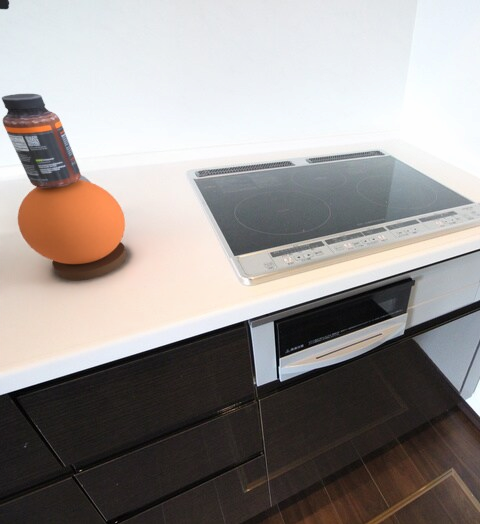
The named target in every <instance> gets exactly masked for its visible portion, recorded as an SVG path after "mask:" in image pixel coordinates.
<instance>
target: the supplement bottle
mask: <svg viewBox="0 0 480 524" xmlns="http://www.w3.org/2000/svg"><path fill="white" fill-rule="evenodd" d="M1 101H2V103H3V105H4V108H5V109H6V110H7V112H6V114H5V115H4V116H3V118H2V124H3V127H4V129H5V131H6V133H7V135H8V137H9V140H10V142H11V144H12V146H13V148H14V150H15V153H16V155H17V156H18V159H19V161H20V163H21V165H22V167H23V170H24V171H25V174H26V176H27V178H28V180H29V182H30V184H31V185H32V186H34V187H35V188H36V187H41V188H53V187H62V186H66V185H69V184H72V183H74V182H76V181H78V180H79V179H80V177H81V175H82V174H81V171H80V168H79V165H78V163H77V160H76V157H75V155H74V152H73V150H72V147H71V145H70V142H69V140H68V137H67V134H66V132H65V130H64V129H65V128H64V127H63V124H62V121H61V119H60V117H59V115H57V114H56V113H54V112H53V111H50V110H48V109H47V108H46V103H45V101H44V98H43V96H42V95H41V94H37V93H15V94H7V95H4V96H2V97H1Z"/></svg>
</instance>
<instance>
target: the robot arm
mask: <svg viewBox="0 0 480 524" xmlns="http://www.w3.org/2000/svg"><path fill="white" fill-rule="evenodd" d="M9 8H10V1H9V0H0V10H9Z"/></svg>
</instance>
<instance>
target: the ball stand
mask: <svg viewBox="0 0 480 524" xmlns="http://www.w3.org/2000/svg"><path fill="white" fill-rule="evenodd" d="M17 225H18V229H19V232H20V234H21V236H22V239H24V241H25V242H26V244H27V245H28V246H29V247H30V248H31V249H32V250H34V251H35V252H36V253H37V254H39V255H40V256H42V257H43V258H46V259H48V260H50V261H51V264H52V267H53V269H54V272H55V273H56V274H57V276H58V277H59V278H61V279H64V280H67V281H68V280H69V281H86V280H92V279H95V278H100V277H102V276H105V275H107V274H110V273H112V272H114V271H116V270H117V269H119V267H121V266H122V265H123V264H124V263H125V261H126V260H127V258H128V253H127V250H126V248H125V245H124V243H123V242H121V241H122V239H123V237H124V233H125V230H126V229H125V228H126V219H125V215H124V212H123V209H122V207H121V205H120V203H119V202H118V201H117V200H116V198H115V197H114V196H113V195H112V194H111V193H110V192H109V191H107V189H104V188H103V187H101V186H100V185H98V184H96V183H93V182H91V181H90V182H88V181H84V180H78V181H76V182H74V183H72V184H69V185H66V186H62V187H53V188H41V187H36V186H35V187H34V188H33V189H31V190H30V191H29V192H28V193H27V194H26V196H25V197H24V198H23V200H22V201H21V203H20V205H19V207H18V211H17Z"/></svg>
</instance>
